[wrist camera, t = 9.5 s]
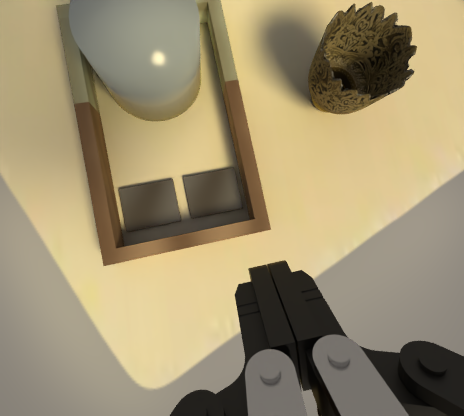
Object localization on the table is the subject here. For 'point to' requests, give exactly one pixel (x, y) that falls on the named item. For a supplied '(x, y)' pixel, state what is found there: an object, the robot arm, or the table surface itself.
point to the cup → (360, 60)
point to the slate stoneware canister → (142, 52)
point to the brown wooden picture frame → (163, 193)
